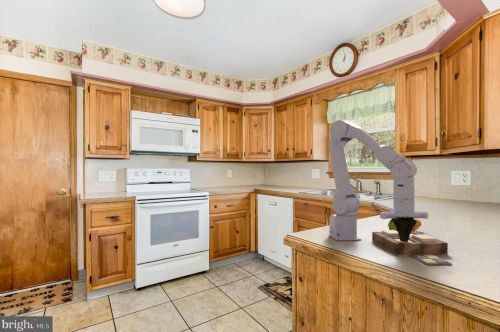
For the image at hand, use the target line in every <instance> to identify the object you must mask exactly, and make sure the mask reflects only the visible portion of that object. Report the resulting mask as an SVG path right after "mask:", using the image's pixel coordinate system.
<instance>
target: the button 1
mask: <svg viewBox="0 0 500 332" xmlns="http://www.w3.org/2000/svg"><path fill="white" fill-rule="evenodd" d="M381 232H382V234H384V235H386V236H388V237H399V234H398V232H397V231H395V230H389V229H382V230H381Z"/></svg>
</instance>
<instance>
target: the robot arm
mask: <svg viewBox="0 0 500 332" xmlns="http://www.w3.org/2000/svg"><path fill="white" fill-rule="evenodd" d="M354 139H356V140H357V141H359V142H360V143H361V144H363V145H364V146H365V147H367V148H368V149H370V151H372V152H373V158H375V159H376V160H377V161H378V162H379V163H380V164H381V165H382V166H384V167H385V168H386V169H387V170H389V173H390V175H391V177H392V178H393V185H392V186H393V189H392V190H393V199H392V200H393V210H391V211H380V212H379V218H380V219H382V220H388V219H389V220H391V219H392V221H393V223H394V225H395V226H396V229H397V231H398V234H399V238H400V240H401V241H403V242H408V240H409V237H410V234H411V231H412V229H413V227H414V226H415V225H416V223H417V220H418V219H427V220H428V219H429V212H426V211H417V210H416V211H415V176H416V175H417V173H418V172H417V171H418V167H417V166H416V164H415V163H414V161H412V160H407V157H406V155H401V154H400V153H398V152H397V151H396V150H395V147H394V146H392V145H388V144H381V143H379V141H377V140H376V138H374V137H373V136H371V135H370V134H369V133H368V132H367V131H366V130H365V129H364V128H363V127H361V126H360V125H358V124H357V123H355V122H351V121H350V122H349V121H346V120H342V119H339V120H338V119H337V120H335V121H334V122H333V123H332V125H331V127H330V128H329V139H328V140H329V141H328V145H327V147H328V152H329V158H330V163H331V168H332V173H333V174H332V175H333V178H334V184H335V185H334V186H335V191H334V193H333V194H332V198H333V201H332V208H333V211H334V212H335V213H334V214H331V215H330V216H329V221H328V222H329V224H328V225H329V231H328V232H329V233H328V235H329V236H330V237H331V238H333V240H335V241H362V238H361V237H359V236H358V234H357V233H358V230H357V229H358V226H357V225H358V210H359V209H360V208H361V207H360V206H361V202H360V199H359V198H358V197H357V194H356V191H355V190H354V189H353V188H352V185H351V180H350V175H349V171H348V170H349V169H348V165H347V160H346V159H347V158H346V155H345V146H347V144H348V143H349V142H351V141H353V140H354ZM400 216H405V217H400ZM414 219H417V220H414Z"/></svg>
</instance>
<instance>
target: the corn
mask: <svg viewBox="0 0 500 332" xmlns="http://www.w3.org/2000/svg"><path fill="white" fill-rule="evenodd" d="M400 217H405V216H400ZM414 220H417V223H416V225H415V226H414V227H413V229H412V231H416V232H418V229H419V228H420V227H421V226H422V222H421V220H419V219H418V218H414ZM387 228H388V230H395V231H397V229H396V226H395V225H394V223H393V221H392V219H389V221H388V223H387ZM397 232H398V231H397Z"/></svg>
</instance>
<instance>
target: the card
mask: <svg viewBox="0 0 500 332" xmlns="http://www.w3.org/2000/svg"><path fill="white" fill-rule="evenodd" d="M409 256H410V257H411V258H412V259H414V260H416V261H418V262H419V263H422V264H424V265H426V266H428V267H429V266H453V263H452V262H450V261H447V260H445V259H443V258H441V257H440V256H438V255H409Z"/></svg>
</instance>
